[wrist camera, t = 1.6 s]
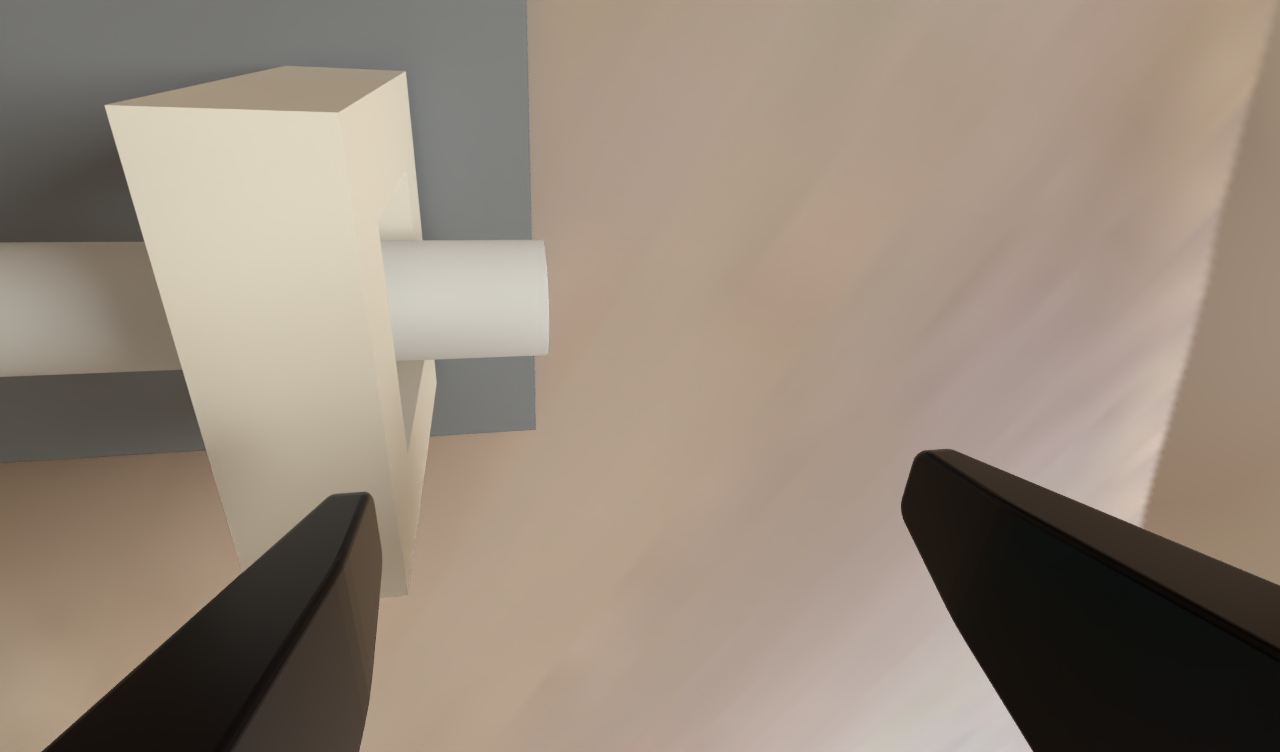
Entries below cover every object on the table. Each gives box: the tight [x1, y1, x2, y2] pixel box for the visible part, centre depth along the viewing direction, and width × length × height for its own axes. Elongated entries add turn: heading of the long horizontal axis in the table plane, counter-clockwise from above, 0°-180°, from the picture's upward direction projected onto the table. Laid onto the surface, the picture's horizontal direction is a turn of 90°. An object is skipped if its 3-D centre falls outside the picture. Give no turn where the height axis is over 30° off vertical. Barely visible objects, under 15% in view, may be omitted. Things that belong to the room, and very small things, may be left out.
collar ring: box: [104, 66, 437, 598], centre depth 13 cm, size 2×8×8 cm, turn 177°
